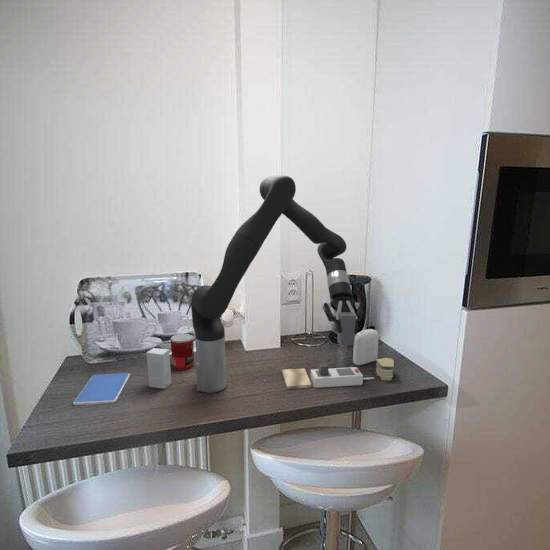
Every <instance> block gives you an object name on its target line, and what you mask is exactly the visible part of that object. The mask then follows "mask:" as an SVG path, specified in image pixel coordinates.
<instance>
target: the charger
mask: <svg viewBox="0 0 550 550" xmlns="http://www.w3.org/2000/svg"><path fill="white" fill-rule="evenodd" d="M355 314H356V313H355ZM355 314H354V313H351V312H341V313H339V316H340V319H339V320H340V322H341V328H342V332H341V333H338V332H337V336H336V337H337V338H336V339H337V343H338V344H339V345H340V347H344V346H354V341H355V335H356V333H355V322H356V316H357V314H356V315H355Z"/></svg>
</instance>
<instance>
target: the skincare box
mask: <svg viewBox="0 0 550 550" xmlns="http://www.w3.org/2000/svg"><path fill="white" fill-rule="evenodd" d="M170 359H171V358H170V349H166V348H158V347H157V348H155V347H153V348H151V349H150V350H148V351H146V365H147V374H148V375H147V376H148V386H149V388H156V389H162V390H163V389H164V390H165V389H166V388H168V387H169V386H170V385H171V384H172V372H171V360H170Z"/></svg>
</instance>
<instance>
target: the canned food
mask: <svg viewBox="0 0 550 550" xmlns="http://www.w3.org/2000/svg"><path fill="white" fill-rule="evenodd" d="M194 348H195V347H194V336H193V335H192V334H189V333H178V334H175V335H172V336H171V337H170V350H171V351H170V352H171V363H172V367H173V369H175V370H178V371H186V370H190V369H192V368H193V367H194V365H195V353H194V352H195V350H194Z"/></svg>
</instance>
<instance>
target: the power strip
mask: <svg viewBox="0 0 550 550" xmlns="http://www.w3.org/2000/svg"><path fill="white" fill-rule="evenodd" d="M374 379H375V377H374V376H371V377H370V376H369V377H364V375H363V374H362V372H361V371H360V370H359V368H358V367H357V366H354V367H353V366H350V367H335V368H334V367H333V368H331V367H330V368H329V365H328V364H327V362H318V368H317V369H315V368H314V369H310V381H311V384H312V386H313V387H314V388H315V389H316V388H331V387H333V388H334V387H346V386H347V387H348V386H349V387H350V386H362V385H363V382H364V381H365V380H366V381H367V380H374Z"/></svg>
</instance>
